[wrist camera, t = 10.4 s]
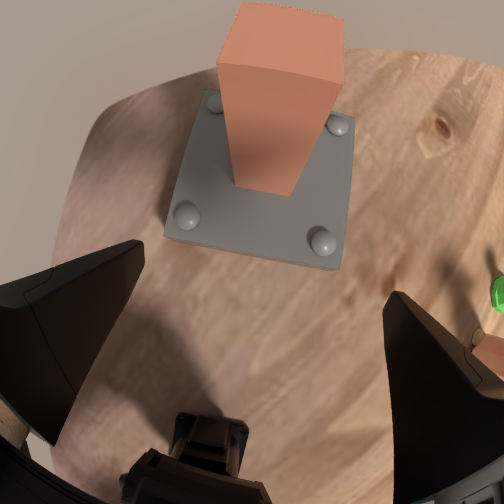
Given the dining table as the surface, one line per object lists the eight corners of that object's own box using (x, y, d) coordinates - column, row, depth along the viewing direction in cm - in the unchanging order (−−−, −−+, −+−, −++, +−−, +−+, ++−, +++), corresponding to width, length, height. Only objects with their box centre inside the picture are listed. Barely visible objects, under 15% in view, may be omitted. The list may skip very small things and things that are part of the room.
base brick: (328, 270, 23) (341, 269, 19) (173, 241, 23) (160, 234, 19) (345, 133, 24) (357, 114, 20) (209, 107, 24) (204, 86, 21)
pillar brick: (289, 196, 20) (343, 84, 7) (235, 186, 20) (216, 62, 7) (297, 148, 21) (343, 19, 8) (246, 139, 21) (242, 1, 8)
